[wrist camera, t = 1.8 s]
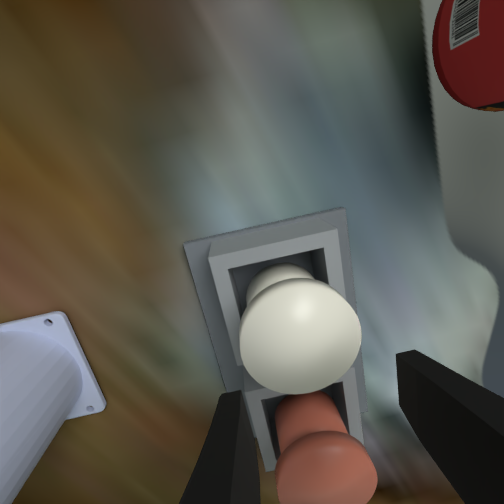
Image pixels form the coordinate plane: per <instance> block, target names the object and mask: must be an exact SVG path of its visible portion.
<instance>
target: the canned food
mask: <svg viewBox="0 0 504 504" xmlns="http://www.w3.org/2000/svg"><path fill="white" fill-rule="evenodd" d="M432 39H433V40H432V47H433V48H432V53H433V60H434V66H435V69H436V72H437V75H438V78H439V80H440V82H441V84H442V85H443V87H444V89H445V90H446V91H447V92H448V93H449V95H450V96H451V97H452V98H453V99H455V100H456V101H457V102H459V103H461V104H462V105H464V106H467V107H470V108H473V109H478V110H483V111H494V112H496V111H503V110H504V0H442V2H441V4H440V7H439V11H438V13H437V16H436V20H435V25H434V30H433V38H432Z"/></svg>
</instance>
